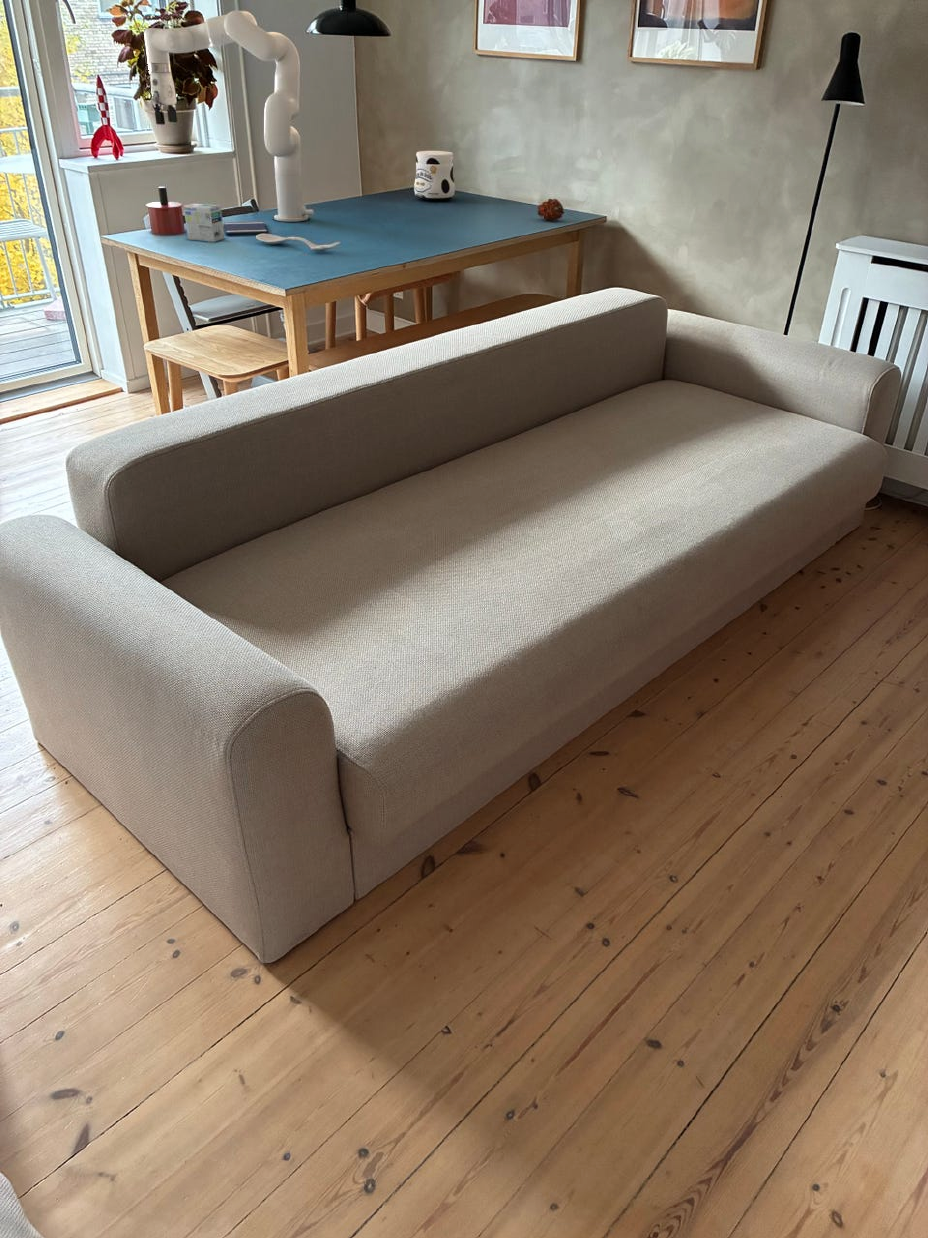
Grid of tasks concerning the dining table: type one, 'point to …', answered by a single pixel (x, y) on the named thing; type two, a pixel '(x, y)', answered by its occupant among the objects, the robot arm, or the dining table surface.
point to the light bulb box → (204, 222)
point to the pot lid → (164, 201)
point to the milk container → (434, 175)
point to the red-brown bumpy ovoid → (551, 210)
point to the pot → (166, 221)
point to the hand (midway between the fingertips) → (166, 122)
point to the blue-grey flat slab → (245, 228)
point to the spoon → (277, 240)
